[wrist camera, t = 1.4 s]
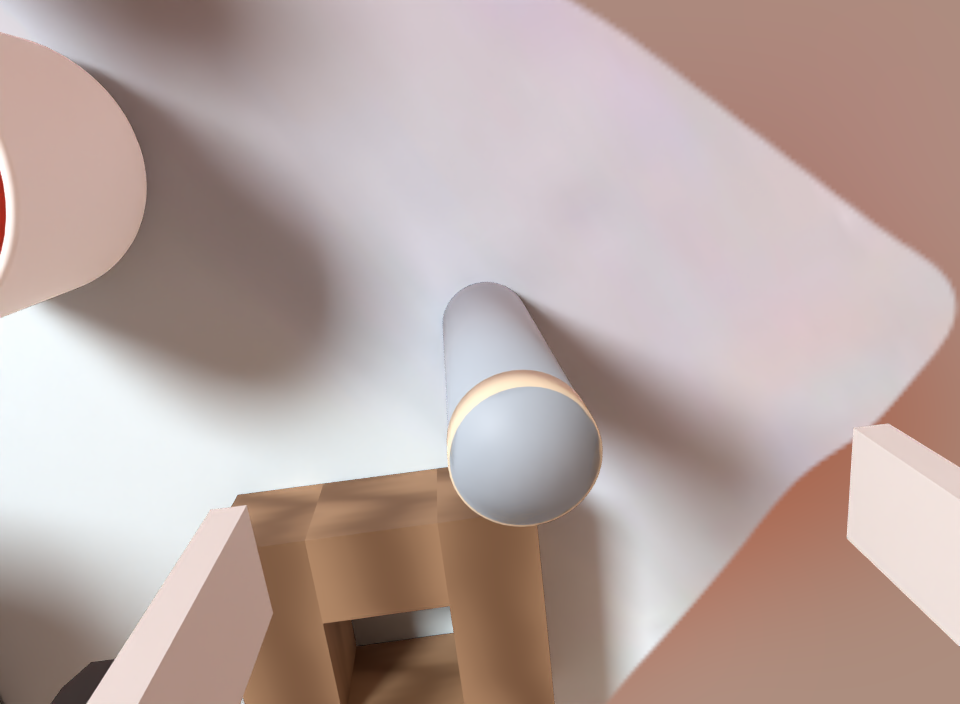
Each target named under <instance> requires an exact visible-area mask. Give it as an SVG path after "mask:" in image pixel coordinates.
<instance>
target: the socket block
mask: <svg viewBox="0 0 960 704" xmlns="http://www.w3.org/2000/svg"><path fill="white" fill-rule="evenodd" d="M243 505H247V509H248V513H249V517H250V521H251V525H252V529H253V533H254V537H255V541H256V546H257V550H258V554H259V558H260V562H261V566H262V570H263V574H264V578H265V582H266V586H267V591H268V595H269V599H270V603H271V607H272V611H273V615H272V617H271V620H270V623H269V626H268V629H267V631H266V634H265V637H264V640H263V642H262V645H261V648H260V651H259V653H258V656H257V659H256V662H255V664H254V667H253V670H252V673H251V676H250V678H249V681H248V684H247V687H246V689H245V692H244V695H243V699H244V702H245V704H555V703H554V692H553V682H552V672H551V662H550V651H549V641H548V631H547V620H546V610H545V600H544V590H543V579H542V569H541V559H540V549H539V538H538V528H537V525H535V526H525V527H518V526H508V525H502V524H499V523H495V522H493V521H490V520H488V519H485V518H484V517H482V516H480V515H479V514H477V513H476V512H474V511H473V510H472V509H470V508H469V507H468V506H467V505H466V504H465V503H464V502H463V500H462V499H461V498H460V496H459V495H458V493H457V492H456V490H455V488H454V486H453V484H452V481H451V478H450V474H449V469H448V467H446V468H439V469H431V470H424V471H416V472H408V473H401V474H393V475H386V476H378V477H370V478H363V479H355V480H348V481H340V482H332V483H325V484H317V485H310V486H302V487H294V488H287V489H279V490H272V491H264V492H256V493H249V494H241V495H238V496H237V497H236V499H235V501H234V503H233V505H232V506H231V507H236V506H243ZM447 606H450V612H451V618H452V625H453V632H454V633H450V634H443V635H435V636H428V637H421V638H414V639H407V640H400V641H392V642H385V643H378V644H371V645H364V646H356V641H355V636H354V631H353V626H352V621H351V620H353V619H360V618H367V617H374V616H382V615H389V614H396V613H403V612H411V611H418V610H425V609H432V608H440V607H447Z"/></svg>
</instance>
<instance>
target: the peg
mask: <svg viewBox="0 0 960 704" xmlns="http://www.w3.org/2000/svg"><path fill="white" fill-rule="evenodd" d="M443 342H444V362H445V381H446V400H447V420H448V431H447V456H448V469H449V474H450V478H451V481H452V484H453V486H454V488H455V490H456V492H457V493H458V495H459V496H460V498H461V499H462V500H463V502H464V503H465V504H466V505H467V506H468V507H469V508H470V509H472V510H473V511H474V512H476V513H477V514H479V515H480V516H482V517H484V518H485V519H488V520H490V521H493V522H495V523H499V524H502V525H508V526H518V527H525V526H535V525H540V524H544V523H547V522H550V521H553V520H555V519H557V518H559V517H561V516H563V515H565V514H566V513H568V512H570V511H571V510H572V509H574V508H575V507H576V506H577V505H578V504H579V503H580V502H581V501H582V500H583V499H584V498H585V497H586V496H587V494H588V493H589V492H590V490H591V489H592V487H593V485H594V484H595V482H596V479H597V477H598V475H599V471H600V468H601V463H602V441H601V436H600V433H599V429H598V427H597V425H596V423H595V421H594V419H593V417H592V416H591V414H590V412H589V411H588V409H587V407H586V406H585V404H584V402H583V401H582V399H581V398H580V396H579V395H578V394H577V393H576V392H575V390H574V389H573V387H572V385H571V384H570V382H569V380H568V379H567V377H566V375H565V373H564V372H563V370H562V368H561V367H560V365H559V363H558V362H557V360H556V358H555V356H554V355H553V353H552V351H551V350H550V348H549V346H548V345H547V343H546V341H545V339H544V338H543V336H542V334H541V333H540V331H539V329H538V328H537V326H536V324H535V322H534V321H533V319H532V317H531V316H530V314H529V312H528V310H527V309H526V307H525V305H524V304H523V302H522V301H521V299H520V298H519V297H518V295H517V294H515V293H514V292H513V291H512V290H510V289H509V288H507V287H505V286H503V285H500V284H497V283H492V282H480V283H475V284H472V285H469V286H467V287H465V288H463V289H462V290H460V291H459V292H458V293H457V294H456V295H455V296H454V297H453V298H452V299H451V300H450V302H449V303H448V305H447V307H446V310H445V312H444V316H443Z"/></svg>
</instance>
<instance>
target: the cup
mask: <svg viewBox="0 0 960 704" xmlns="http://www.w3.org/2000/svg"><path fill="white" fill-rule="evenodd" d="M146 196H147V181H146V171H145V165H144V160H143V156H142V152H141V149H140V146H139V143H138V141H137V139H136V136H135V134H134V131H133V129H132V127H131V125H130V123H129V121H128V120H127V118H126V116H125V114H124V113H123V111H122V110H121V109H120V107H119V106H118V104H117V103H116V101H115V100H114V99H113V98H112V97H111V95H110V94H109V93H108V92H107V91H106V89H105V88H104V87H103V86H102V85H101V84H100V83H99V82H98V81H97V80H96V79H94V78H93V77H92V76H91V75H90V74H89V73H87V72H86V71H85V70H84V69H82V68H81V67H80V66H79V65H77V64H76V63H74V62H73V61H71V60H69V59H68V58H66V57H65V56H63V55H61V54H59V53H57V52H56V51H54V50H52V49H50V48H48V47H46V46H43V45H40V44H38V43H35V42H33V41H30V40H27V39H23V38H20V37H16V36H13V35H9V34H5V33H2V32H0V318H1V317H4V316H7V315H9V314H12V313H14V312H17V311H20V310H22V309H25V308H27V307H30V306H32V305H35V304H38V303H40V302H43V301H45V300H48V299H51V298H53V297H56V296H58V295H61V294H64V293H66V292H69V291H71V290H74V289H77V288H79V287H81V286H84V285H86V284H88V283H90V282H92V281H94V280H95V279H97V278H98V277H100V276H102V275H103V274H104V273H106V272H107V271H108V270H110V269H111V268H112V267H113V266H114V265H115V264H116V263H117V262H118V261H119V260H120V259H121V258H122V257H123V255H124V254H125V253H126V251H127V250H128V249H129V247H130V246H131V244H132V242H133V241H134V239H135V237H136V235H137V233H138V230H139V228H140V225H141V222H142V219H143V215H144V211H145V205H146Z"/></svg>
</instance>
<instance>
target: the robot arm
mask: <svg viewBox="0 0 960 704" xmlns="http://www.w3.org/2000/svg"><path fill="white" fill-rule="evenodd" d="M848 511H849V512H848V526H847V539H848V540H849V541H850V542H851V543H852V544H853V545H854V546H855V547H856V548H857V549H858V550H859V551H860V552H862V553H863V554H864V555H865V556H866V557H867V558H868V559H869V560H870V561H871V562H872V563H873V564H874V565H875V566H876V567H877V568H878V569H879V570H880V571H881V572H883V574H884V575H886V576H887V577H888V578H889V579H890V580H891V581H892V582H893V583H894V584H895V585H896V586H897V587H898V588H899V589H900V590H901V591H902V592H903V593H904V594H905V595H907V596H908V598H909V599H910V600H912V601H913V602H914V603H915V604H916V605H917V606H918V607H919V608H920V609H921V610H922V611H923V612H924V613H925V614H926V615H927V616H928V617H930V619H931V620H932V621H933V622H935V624H937V625H938V626H939V627H940V628H941V629H942V630H943V631H944V632H945V633H946V634H947V635H948V636H949V637H950V638H952V640H953V641H954V642H955V643H956V644H957V645H958V646H959V647H960V467H958V466H957V465H955V464H953V463H952V462H950V461H948V460H947V459H945V458H943V457H942V456H940V455H938V454H937V453H935V452H934V451H932V450H931V449H929V448H927V447H926V446H924V445H922V444H921V443H919V442H917V441H916V440H914V439H913V438H911V437H909V436H908V435H906V434H904V433H903V432H901V431H900V430H898V429H896V428H895V427H893V426H891V425H890V424H881V425H873V426H865V427H858V428H854V430H853V446H852V463H851V479H850V494H849V510H848ZM272 615H273V611H272V607H271V603H270V599H269V595H268V591H267V586H266V582H265V578H264V574H263V570H262V566H261V562H260V558H259V554H258V550H257V546H256V541H255V537H254V533H253V529H252V525H251V521H250V517H249V513H248V509H247V505H243V506H236V507H228V508H220V509H212V510H210V511H209V513H208V514H207V516H206V517H205V519H204V521H203V522H202V524H201V525H200V527H199V528H198V530H197V532H196V533H195V535H194V536H193V538H192V539H191V541H190V542H189V544H188V546H187V547H186V549H185V550H184V552H183V553H182V555H181V557H180V558H179V560H178V561H177V563H176V564H175V566H174V568H173V569H172V571H171V572H170V574H169V575H168V577H167V579H166V580H165V582H164V583H163V585H162V586H161V588H160V589H159V591H158V593H157V594H156V596H155V597H154V599H153V600H152V602H151V604H150V605H149V607H148V608H147V610H146V611H145V613H144V615H143V616H142V618H141V619H140V621H139V622H138V624H137V625H136V627H135V629H134V630H133V632H132V633H131V635H130V636H129V638H128V640H127V641H126V643H125V644H124V646H123V647H122V649H121V651H120V652H119V654H118V655H117V657H116V658H115V659H113V660H105V661H98V662H91V663H90V664H89V665H88V666H87V667H85V668H84V669H83V670H82V671H81V672H80V673H79V674H77V675H76V676H75V677H74V678H73V679H72V680H71V681H69V682H68V683H67V684H66V685H65V686H64V687H63V688H62V689H61V690H60V692H59V693H58V694H57V696H56V697H55V699H54V700H53V701H52V703H51V704H240V703H241V700H242V698H243V695H244V692H245V689H246V687H247V684H248V681H249V678H250V676H251V673H252V670H253V667H254V664H255V662H256V659H257V656H258V653H259V651H260V648H261V645H262V642H263V640H264V637H265V634H266V631H267V629H268V626H269V623H270V620H271V617H272ZM0 704H2V703H1V701H0Z"/></svg>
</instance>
